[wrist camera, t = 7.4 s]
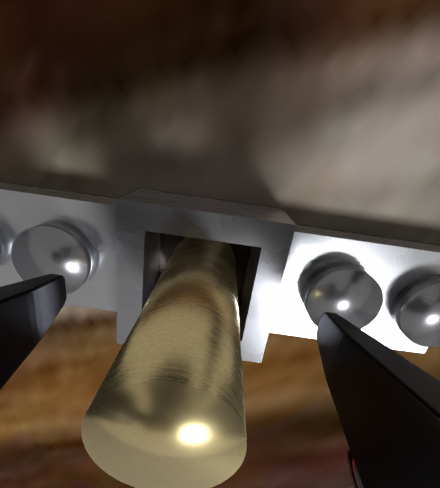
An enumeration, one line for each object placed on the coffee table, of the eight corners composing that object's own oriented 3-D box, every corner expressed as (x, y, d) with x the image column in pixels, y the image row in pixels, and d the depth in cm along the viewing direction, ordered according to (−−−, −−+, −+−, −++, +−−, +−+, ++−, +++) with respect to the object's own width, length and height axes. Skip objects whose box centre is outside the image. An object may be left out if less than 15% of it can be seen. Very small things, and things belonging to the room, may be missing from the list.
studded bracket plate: (469, 236, 11) (532, 259, 9) (412, 346, 13) (451, 388, 11) (-56, 159, 11) (-135, 162, 8) (-27, 286, 13) (-84, 316, 11)
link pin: (240, 237, 12) (261, 396, 4) (230, 293, 13) (232, 502, 5) (175, 227, 12) (76, 371, 4) (170, 285, 13) (85, 483, 5)
